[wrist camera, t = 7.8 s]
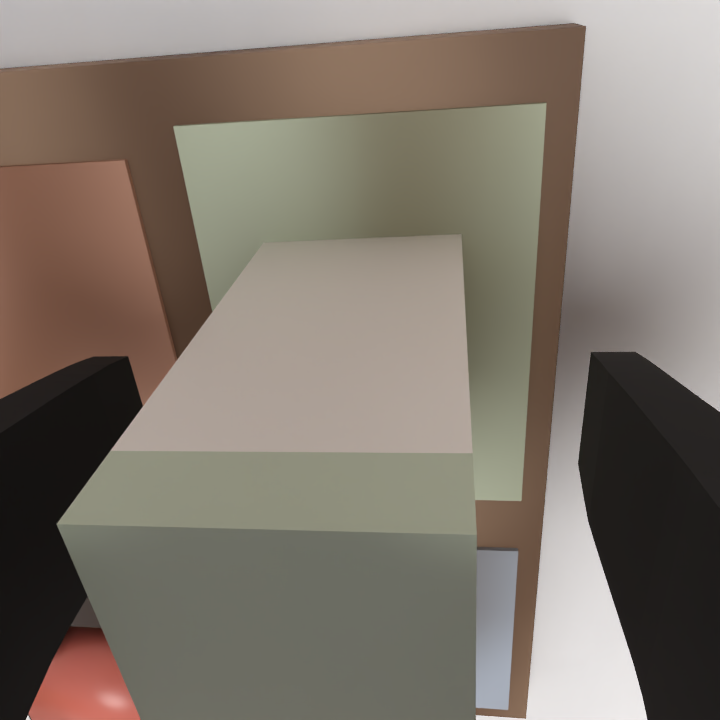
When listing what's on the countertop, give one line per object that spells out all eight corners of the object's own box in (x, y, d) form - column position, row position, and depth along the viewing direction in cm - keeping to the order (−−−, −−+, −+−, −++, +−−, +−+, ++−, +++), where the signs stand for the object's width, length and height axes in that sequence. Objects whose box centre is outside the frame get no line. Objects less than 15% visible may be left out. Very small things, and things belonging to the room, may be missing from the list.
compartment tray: (74, 656, 20) (20, 752, 18) (-192, 84, 12) (-366, 109, 10) (522, 684, 18) (534, 797, 16) (574, 23, 10) (616, 34, 8)
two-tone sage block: (290, 405, 13) (156, 756, 7) (263, 242, 11) (56, 524, 5) (462, 404, 13) (474, 781, 7) (461, 234, 11) (477, 535, 5)
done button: (90, 693, 17) (55, 761, 16) (47, 604, 16) (4, 671, 14) (216, 702, 17) (192, 774, 15) (188, 611, 15) (158, 681, 14)
